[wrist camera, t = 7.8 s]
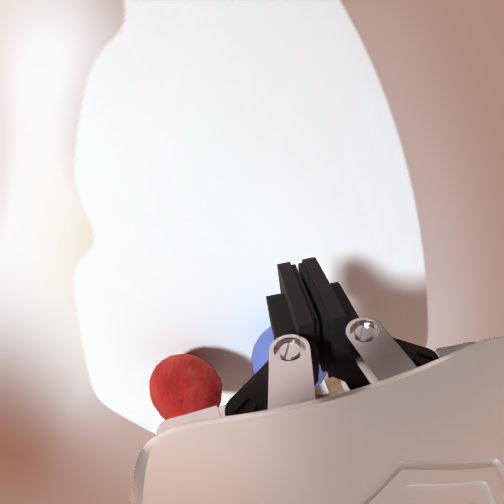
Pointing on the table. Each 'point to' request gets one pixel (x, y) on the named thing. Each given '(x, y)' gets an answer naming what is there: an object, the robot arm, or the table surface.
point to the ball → (262, 353)
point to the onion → (184, 386)
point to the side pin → (333, 385)
